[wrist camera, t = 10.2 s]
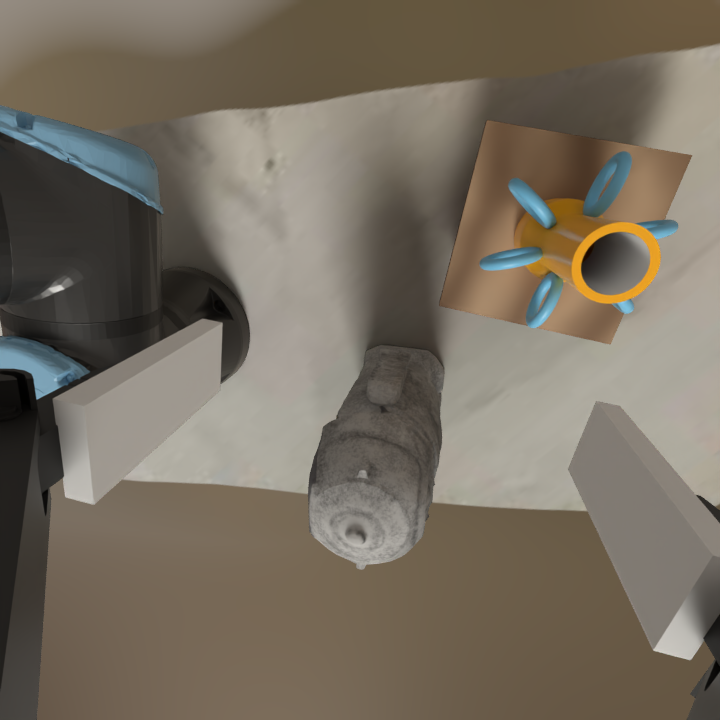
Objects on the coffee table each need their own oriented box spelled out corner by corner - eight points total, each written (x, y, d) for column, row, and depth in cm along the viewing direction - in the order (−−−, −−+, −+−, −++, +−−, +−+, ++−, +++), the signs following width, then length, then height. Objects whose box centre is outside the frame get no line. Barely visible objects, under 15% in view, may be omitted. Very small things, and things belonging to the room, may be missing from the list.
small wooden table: (441, 288, 46) (439, 305, 39) (480, 133, 41) (487, 120, 33) (584, 319, 45) (610, 344, 37) (647, 162, 39) (692, 155, 32)
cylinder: (484, 312, 39) (501, 378, 25) (465, 190, 35) (473, 187, 22) (638, 285, 35) (756, 342, 22) (632, 148, 32) (767, 113, 18)
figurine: (360, 434, 55) (295, 606, 32) (364, 326, 50) (289, 439, 27) (438, 444, 53) (427, 633, 30) (450, 334, 48) (448, 461, 25)
